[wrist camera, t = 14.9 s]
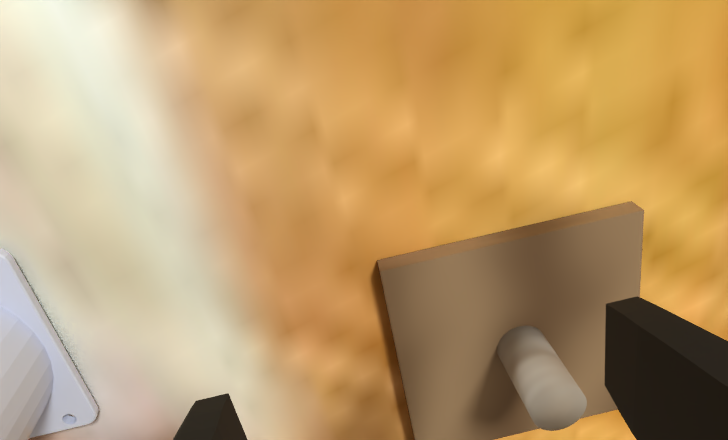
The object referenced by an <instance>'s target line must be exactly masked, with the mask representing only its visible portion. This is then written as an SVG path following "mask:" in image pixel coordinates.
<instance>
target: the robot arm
mask: <svg viewBox="0 0 728 440" xmlns="http://www.w3.org/2000/svg"><path fill="white" fill-rule="evenodd" d="M604 385H605V387H606V388H607V390H608V392H609V394H610V396H611V397H612V399H613V401H614V403H615V405H616V406H617V408H618V410H619V412H620V413H621V415H622V417H623V418H624V420H625V422H626V423H627V425H628V427H629V428H630V430H631V432H632V434H633V435H634V436H635V438H636V439H637V440H728V341H726V340H724V339H722V338H720V337H718V336H716V335H714V334H712V333H710V332H708V331H706V330H704V329H702V328H700V327H698V326H696V325H694V324H692V323H690V322H688V321H686V320H684V319H682V318H681V317H679V316H677V315H675V314H673V313H671V312H669V311H667V310H665V309H663V308H661V307H659V306H657V305H655V304H652V303H650V302H648V301H646V300H644V299H642V298H640V297H632V298H628V299H624V300H620V301H615V302H611V303H607V304H606V323H605V384H604ZM98 411H99V409H98V406H97V404H96V403H95V401H94V399H93V397H92V395H91V394H90V392H89V390H88V388H87V387H86V385H85V383H84V381H83V380H82V378H81V376H80V374H79V372H78V371H77V369H76V367H75V365H74V364H73V362H72V360H71V358H70V357H69V355H68V353H67V351H66V350H65V348H64V346H63V344H62V342H61V341H60V339H59V337H58V335H57V334H56V332H55V330H54V328H53V327H52V325H51V323H50V321H49V319H48V318H47V316H46V314H45V312H44V311H43V309H42V307H41V305H40V304H39V302H38V300H37V298H36V297H35V295H34V293H33V291H32V289H31V288H30V286H29V284H28V282H27V281H26V279H25V277H24V275H23V274H22V272H21V270H20V268H19V266H18V265H17V263H16V261H15V259H14V258H13V256H12V255H11V254H10V253H9V252H7V251H6V250H4V249H1V248H0V440H28V439H29V438H33V437H37V436H41V435H45V434H50V433H54V432H58V431H62V430H66V429H71V428H75V427H79V426H83V425H88V424H90V423H93V422H94V421H95V419H96V417H97V415H98ZM68 414H71V415H74V416H75V417H72V416H69V415H68ZM173 440H247V438H246V435H245V433H244V430H243V428H242V425H241V423H240V421H239V418H238V416H237V413H236V411H235V408H234V406H233V403H232V401H231V399H230V396H229V394H224V395H219V396H215V397H211V398H207V399H202V400H198V401H196V402H195V403H194V405H193V406H192V408H191V409H190V411H189V413H188V414H187V416H186V418H185V420H184V421H183V423H182V425H181V427H180V428H179V430H178V432H177V434H176V435H175V437H174V439H173Z"/></svg>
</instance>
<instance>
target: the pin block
mask: <svg viewBox="0 0 728 440" xmlns="http://www.w3.org/2000/svg"><path fill="white" fill-rule="evenodd" d="M643 220H644V210H643V209H642V208H640V207H639V206H637V205H636V204H635V203H633V202H632V201H631V202H627V203H623V204H618V205H614V206H610V207H605V208H601V209H597V210H592V211H588V212H584V213H580V214H575V215H571V216H567V217H562V218H558V219H554V220H549V221H545V222H541V223H536V224H532V225H528V226H523V227H519V228H515V229H511V230H506V231H502V232H498V233H493V234H489V235H485V236H480V237H476V238H472V239H467V240H463V241H459V242H454V243H450V244H446V245H442V246H437V247H433V248H429V249H424V250H420V251H416V252H411V253H407V254H403V255H398V256H394V257H390V258H385V259H381V260H377V263H378V268H379V272H380V277H381V282H382V287H383V292H384V296H385V301H386V306H387V311H388V315H389V320H390V325H391V330H392V334H393V339H394V344H395V349H396V354H397V358H398V363H399V368H400V373H401V377H402V382H403V387H404V392H405V397H406V401H407V406H408V411H409V416H410V420H411V425H412V430H413V435H414V439H415V440H494V439H498V438H502V437H506V436H510V435H514V434H519V433H523V432H527V431H531V430H535V429H539V428H541V429H544V430H549V431H554V430H560V429H564V428H566V427H568V426H570V425H572V424H574V423H575V422H576V421H577V420H579V419H580V418H584V417H588V416H592V415H597V414H601V413H605V412H609V411H613V410H617V409H618V408H617V406H616V405H615V403H614V401H613V399H612V397H611V396H610V394H609V392H608V390H607V388H606V387H605V385H604V384H605V323H606V304H607V303H611V302H615V301H620V300H624V299H628V298H632V297H640V279H641V259H642V239H643Z"/></svg>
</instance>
